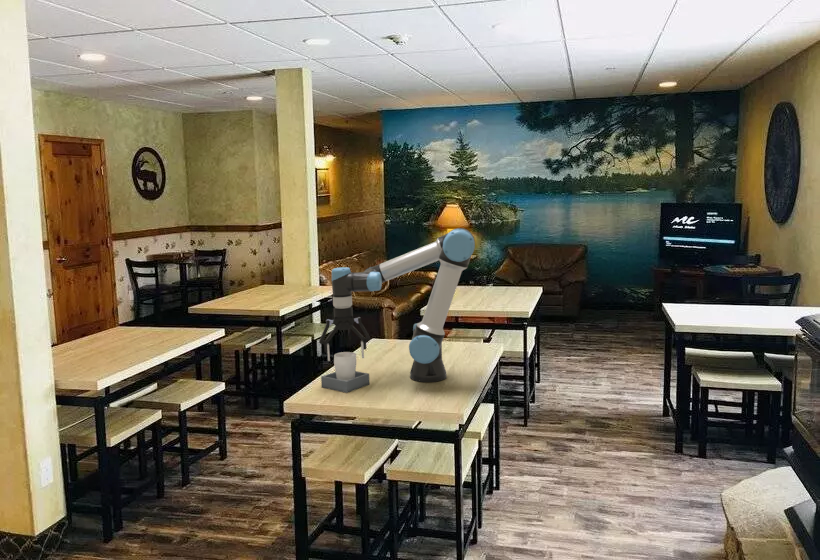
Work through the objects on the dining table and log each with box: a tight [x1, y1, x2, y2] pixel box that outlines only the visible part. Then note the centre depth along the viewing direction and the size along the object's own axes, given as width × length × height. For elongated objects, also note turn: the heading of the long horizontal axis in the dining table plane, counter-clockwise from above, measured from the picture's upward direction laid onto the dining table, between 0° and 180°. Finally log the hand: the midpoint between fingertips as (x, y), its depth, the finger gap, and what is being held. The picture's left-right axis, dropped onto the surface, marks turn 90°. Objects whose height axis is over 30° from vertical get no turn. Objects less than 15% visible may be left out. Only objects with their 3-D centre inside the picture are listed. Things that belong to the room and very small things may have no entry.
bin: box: [320, 370, 370, 394], centre depth 272 cm, size 14×14×4 cm
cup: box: [333, 351, 357, 381], centre depth 272 cm, size 9×9×12 cm
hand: (346, 358), depth 271 cm, fingers open, 13 cm apart
